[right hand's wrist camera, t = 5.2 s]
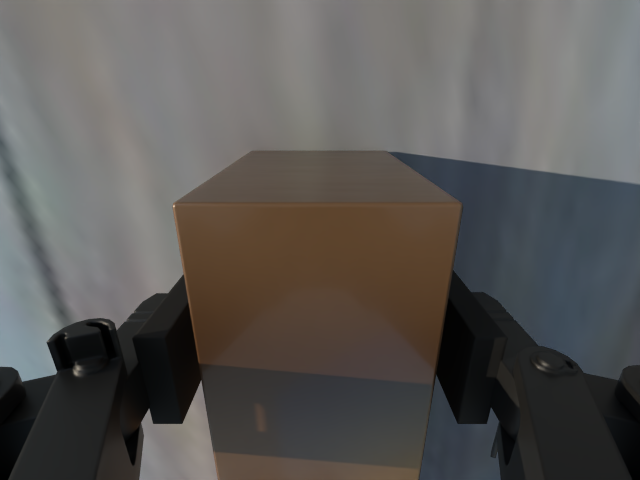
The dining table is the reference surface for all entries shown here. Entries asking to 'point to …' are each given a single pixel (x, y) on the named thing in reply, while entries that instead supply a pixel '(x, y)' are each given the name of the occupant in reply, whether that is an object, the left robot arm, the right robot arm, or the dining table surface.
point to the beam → (318, 311)
